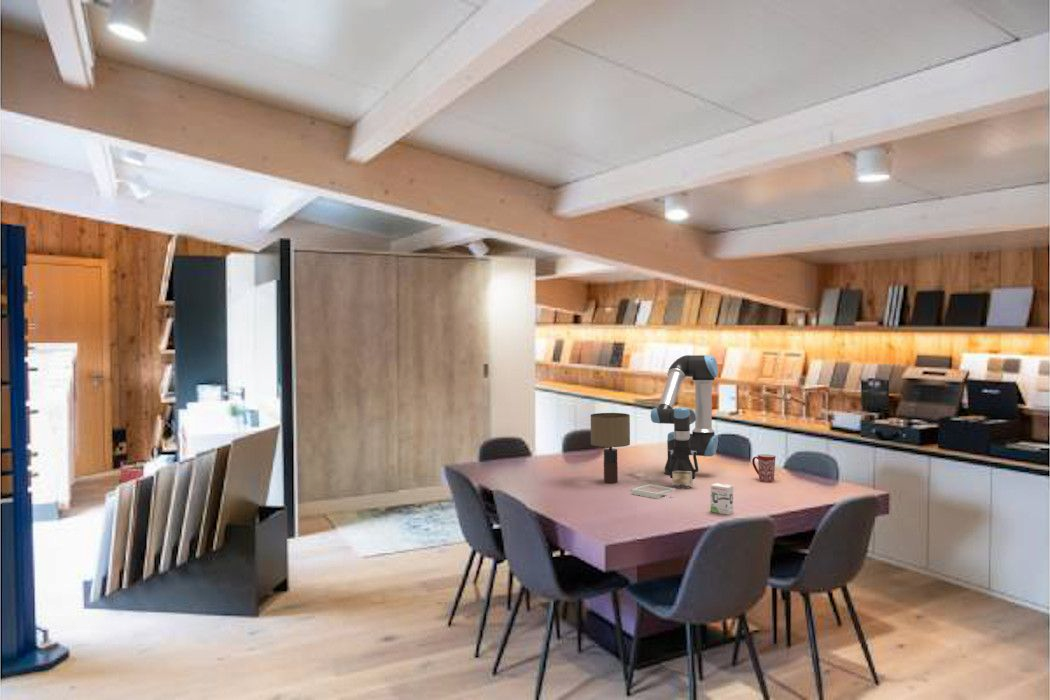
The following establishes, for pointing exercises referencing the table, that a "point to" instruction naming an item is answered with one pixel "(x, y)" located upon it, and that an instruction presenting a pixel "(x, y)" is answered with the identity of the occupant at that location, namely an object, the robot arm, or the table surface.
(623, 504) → the table surface
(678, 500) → the table surface
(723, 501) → the ink box
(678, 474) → the tan wooden frame
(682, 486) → the grey glass rounded piece
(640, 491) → the tray
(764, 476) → the mug
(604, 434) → the lamp
